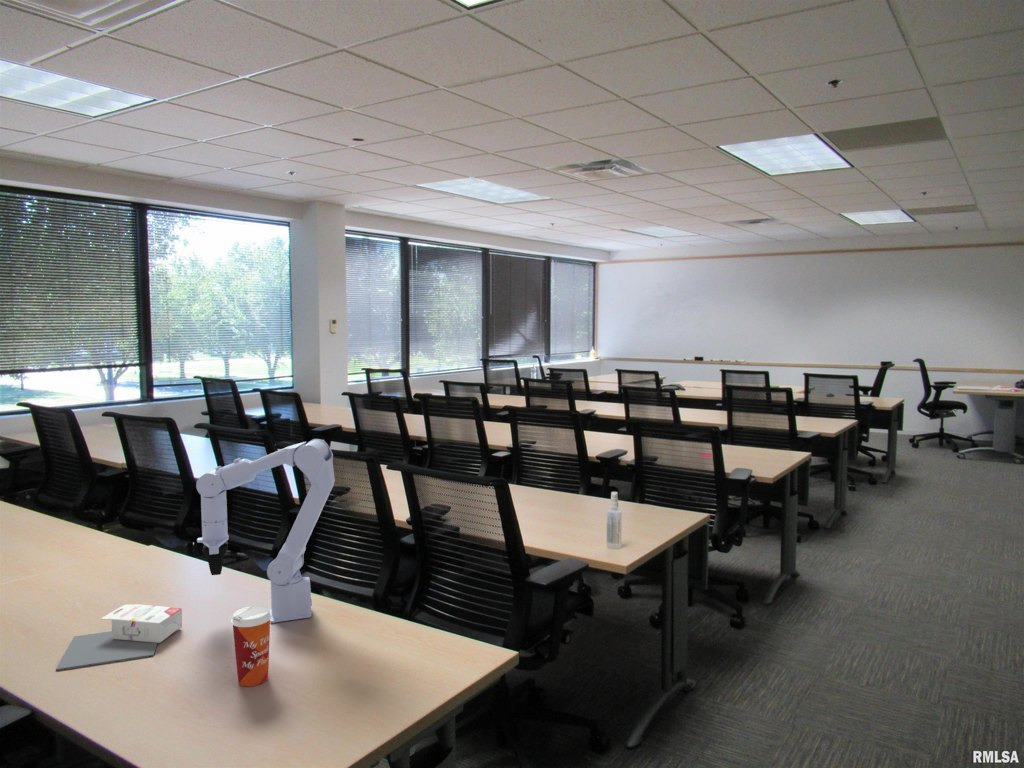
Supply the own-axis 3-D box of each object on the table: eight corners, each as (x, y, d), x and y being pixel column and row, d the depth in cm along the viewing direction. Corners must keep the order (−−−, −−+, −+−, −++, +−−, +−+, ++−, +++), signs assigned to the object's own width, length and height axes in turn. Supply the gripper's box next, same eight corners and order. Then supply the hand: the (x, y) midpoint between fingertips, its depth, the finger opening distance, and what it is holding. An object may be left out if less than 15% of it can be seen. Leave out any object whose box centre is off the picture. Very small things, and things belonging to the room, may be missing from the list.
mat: (162, 625, 161) (162, 624, 161) (153, 656, 146) (153, 654, 146) (74, 638, 155) (74, 636, 155) (55, 671, 140) (55, 669, 140)
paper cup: (249, 693, 132) (247, 623, 130) (224, 682, 136) (222, 614, 135) (282, 676, 138) (280, 609, 137) (257, 666, 142) (255, 601, 141)
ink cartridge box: (182, 628, 160) (125, 622, 162) (182, 607, 159) (125, 602, 161) (158, 644, 151) (99, 638, 153) (158, 623, 151) (98, 617, 153)
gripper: (198, 513, 171) (200, 566, 172) (194, 529, 157) (196, 586, 158) (228, 511, 173) (230, 562, 174) (227, 526, 160) (229, 582, 161)
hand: (216, 574), depth 167 cm, fingers closed
